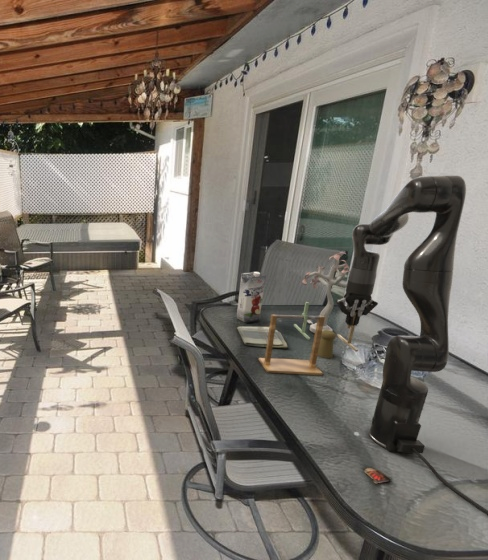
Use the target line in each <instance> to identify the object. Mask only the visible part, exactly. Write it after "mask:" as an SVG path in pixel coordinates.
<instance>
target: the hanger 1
mask: <svg viewBox="0 0 488 560" xmlns="http://www.w3.org/2000/svg"><path fill="white" fill-rule="evenodd" d="M309 307H310V302H308V301H305V303H304V308H303V312H302V313H301V316H304V319H303V323H302V328H301V327H299V325H298V324H297V323H293V327H294V328H295V329H296V330H297V331H298V332H299V333H300V334H301V335H302V336H303V337H304V338H305V339H306V340H307V341H310V340H311V337H310V336H309V335H308V334H307V333H306V328H307V324H308V322H307V320H308V319H307V318H308V316H309V315H308V312H309Z"/></svg>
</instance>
